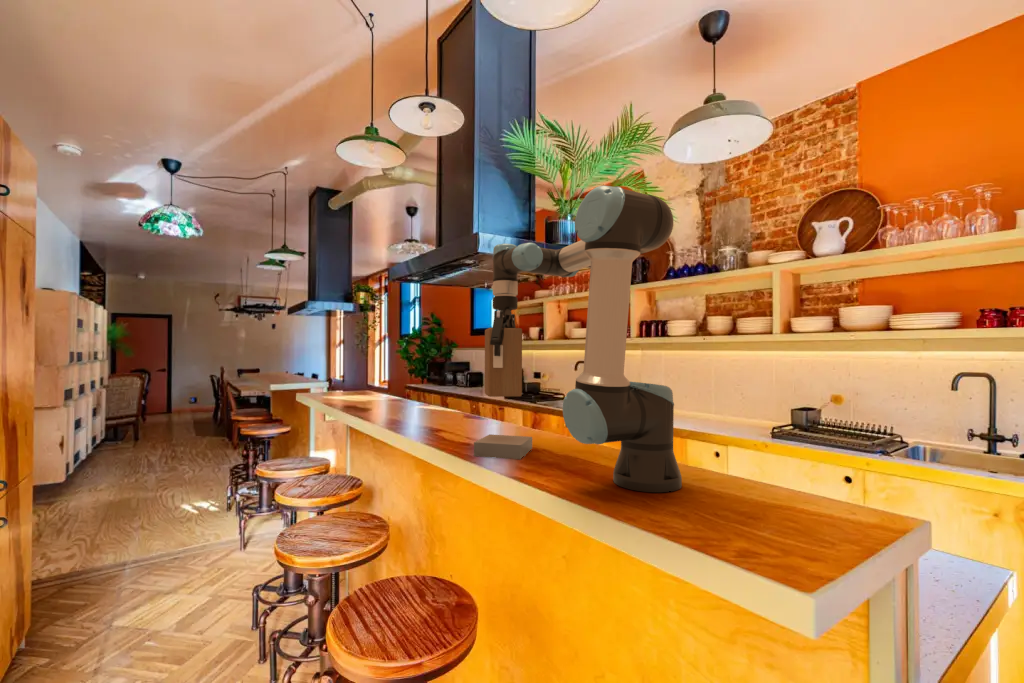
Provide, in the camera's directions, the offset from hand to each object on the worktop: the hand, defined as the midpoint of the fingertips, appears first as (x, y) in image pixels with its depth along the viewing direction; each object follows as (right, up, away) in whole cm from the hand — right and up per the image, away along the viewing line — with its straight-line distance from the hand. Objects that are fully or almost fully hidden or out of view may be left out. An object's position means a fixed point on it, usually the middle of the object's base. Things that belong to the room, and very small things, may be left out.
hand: (504, 367), depth 141 cm
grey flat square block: (0, -26, -1) cm, 26 cm away
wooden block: (-1, -9, 0) cm, 9 cm away
